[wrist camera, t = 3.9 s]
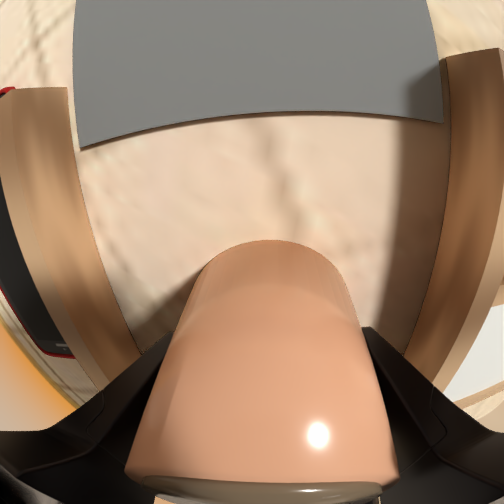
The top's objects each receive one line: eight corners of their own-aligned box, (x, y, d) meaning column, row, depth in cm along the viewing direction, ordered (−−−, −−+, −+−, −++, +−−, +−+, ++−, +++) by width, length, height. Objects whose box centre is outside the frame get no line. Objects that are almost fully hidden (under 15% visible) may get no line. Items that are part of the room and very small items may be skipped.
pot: (338, 358, 11) (360, 509, 5) (207, 361, 12) (174, 507, 5) (356, 236, 8) (458, 450, 2) (176, 244, 9) (63, 440, 3)
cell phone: (22, 78, 6) (7, 78, 5) (129, 349, 13) (122, 363, 12) (-36, 150, 8) (-47, 155, 7) (50, 347, 14) (44, 356, 13)
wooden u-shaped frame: (400, 395, 13) (411, 432, 10) (150, 399, 14) (138, 435, 12) (469, 66, 5) (522, 62, 3) (46, 98, 7) (-8, 105, 4)
